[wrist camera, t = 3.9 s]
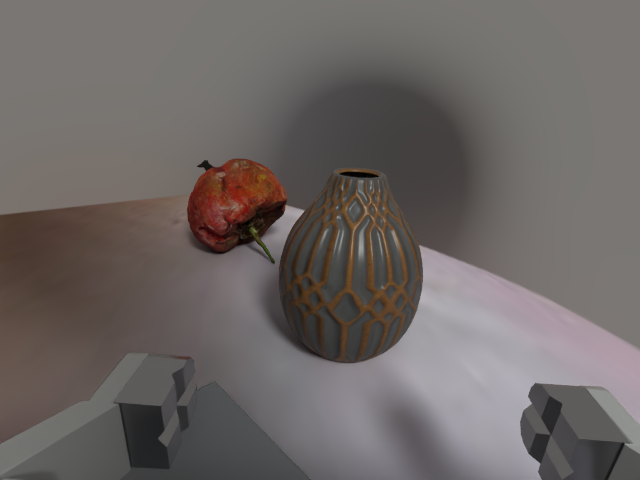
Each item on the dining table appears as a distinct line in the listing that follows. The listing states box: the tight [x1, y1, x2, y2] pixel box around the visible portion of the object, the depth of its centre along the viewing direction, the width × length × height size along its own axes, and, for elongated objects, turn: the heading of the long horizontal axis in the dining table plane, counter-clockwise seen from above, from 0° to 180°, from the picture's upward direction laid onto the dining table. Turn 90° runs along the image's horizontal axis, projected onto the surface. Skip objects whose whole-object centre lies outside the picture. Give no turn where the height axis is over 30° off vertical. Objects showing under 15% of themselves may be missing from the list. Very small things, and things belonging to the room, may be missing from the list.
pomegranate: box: [187, 159, 287, 263], centre depth 29 cm, size 7×7×10 cm
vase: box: [279, 168, 423, 363], centre depth 18 cm, size 7×7×9 cm
